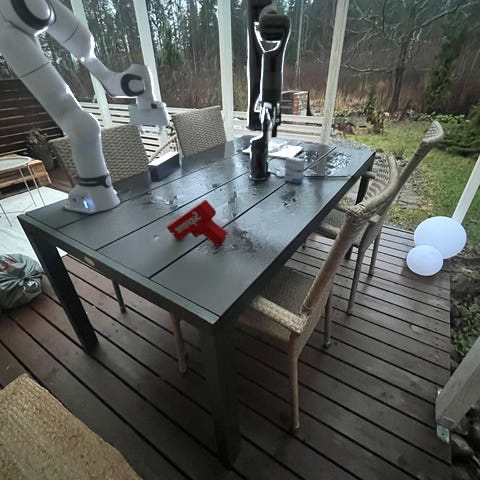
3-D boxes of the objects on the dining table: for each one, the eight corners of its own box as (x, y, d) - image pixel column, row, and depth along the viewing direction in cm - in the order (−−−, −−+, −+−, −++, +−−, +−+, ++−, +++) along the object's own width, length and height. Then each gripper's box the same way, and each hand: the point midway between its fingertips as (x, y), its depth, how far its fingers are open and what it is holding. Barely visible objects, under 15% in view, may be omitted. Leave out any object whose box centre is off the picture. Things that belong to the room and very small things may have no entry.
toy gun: (233, 234, 92) (206, 198, 88) (229, 240, 88) (200, 203, 84) (198, 253, 102) (172, 221, 98) (193, 259, 98) (166, 227, 94)
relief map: (291, 159, 177) (291, 151, 174) (243, 153, 190) (243, 145, 187) (302, 149, 197) (303, 142, 194) (258, 144, 211) (258, 137, 208)
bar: (172, 166, 167) (170, 151, 162) (180, 166, 165) (178, 152, 161) (150, 180, 146) (147, 164, 141) (159, 181, 145) (156, 165, 140)
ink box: (302, 181, 142) (305, 159, 136) (297, 184, 139) (300, 161, 133) (289, 177, 147) (291, 156, 141) (284, 180, 144) (285, 158, 138)
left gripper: (123, 104, 129) (129, 134, 136) (162, 105, 124) (166, 136, 132) (131, 102, 134) (137, 132, 141) (168, 103, 129) (172, 134, 137)
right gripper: (254, 86, 101) (253, 132, 109) (269, 88, 89) (267, 139, 98) (272, 85, 103) (270, 130, 111) (290, 87, 91) (286, 138, 100)
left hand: (151, 134), depth 137 cm, fingers open, 8 cm apart
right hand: (269, 135), depth 105 cm, fingers open, 8 cm apart
